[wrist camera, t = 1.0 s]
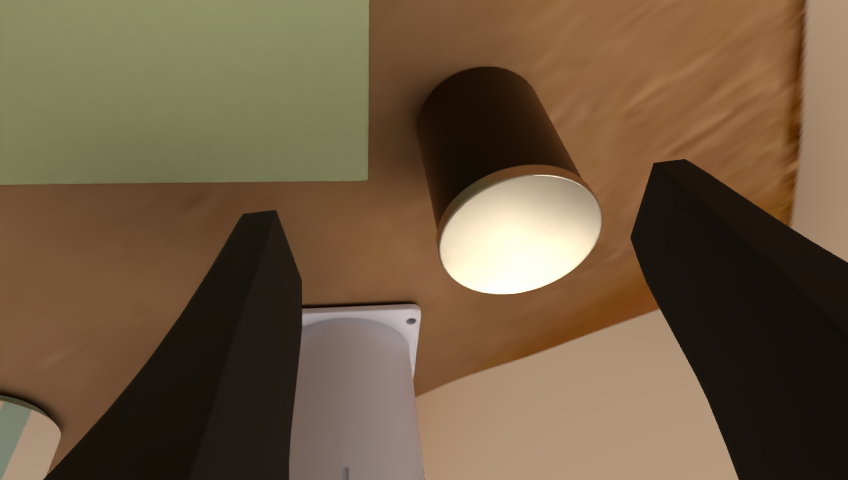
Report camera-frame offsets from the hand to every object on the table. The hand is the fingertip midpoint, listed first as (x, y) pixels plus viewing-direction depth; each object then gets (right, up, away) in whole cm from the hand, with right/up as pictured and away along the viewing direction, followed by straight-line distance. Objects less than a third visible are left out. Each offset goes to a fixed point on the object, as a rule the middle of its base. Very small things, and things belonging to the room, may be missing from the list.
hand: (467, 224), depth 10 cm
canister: (+1, +4, +10) cm, 11 cm away
